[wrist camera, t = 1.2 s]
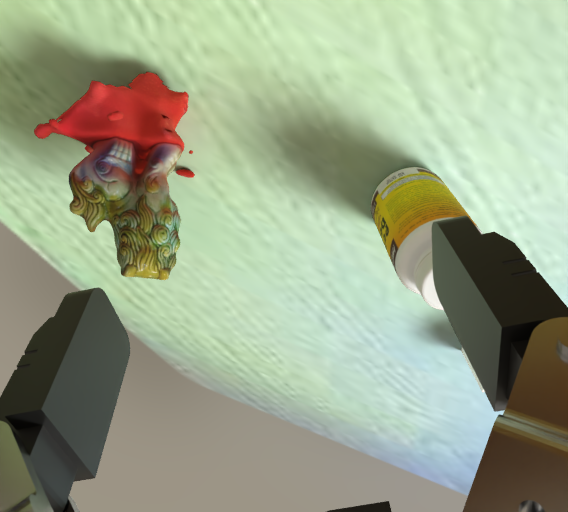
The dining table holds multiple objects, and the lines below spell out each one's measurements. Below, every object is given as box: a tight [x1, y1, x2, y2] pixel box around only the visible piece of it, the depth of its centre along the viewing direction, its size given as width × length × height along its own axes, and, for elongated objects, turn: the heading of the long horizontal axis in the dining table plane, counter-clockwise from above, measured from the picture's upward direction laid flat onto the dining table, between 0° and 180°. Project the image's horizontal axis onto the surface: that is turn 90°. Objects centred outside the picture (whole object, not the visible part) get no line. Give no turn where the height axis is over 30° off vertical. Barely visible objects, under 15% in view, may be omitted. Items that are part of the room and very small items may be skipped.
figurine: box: [34, 72, 195, 280], centre depth 29 cm, size 8×10×12 cm
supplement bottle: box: [371, 167, 483, 310], centre depth 31 cm, size 6×6×10 cm
